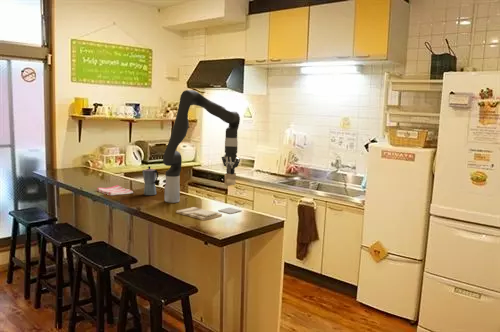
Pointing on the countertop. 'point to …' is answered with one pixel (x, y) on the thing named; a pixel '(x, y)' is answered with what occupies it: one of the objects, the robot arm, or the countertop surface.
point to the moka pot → (150, 181)
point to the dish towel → (114, 190)
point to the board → (193, 209)
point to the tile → (205, 213)
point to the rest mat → (230, 210)
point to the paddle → (230, 177)
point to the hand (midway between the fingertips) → (230, 173)
